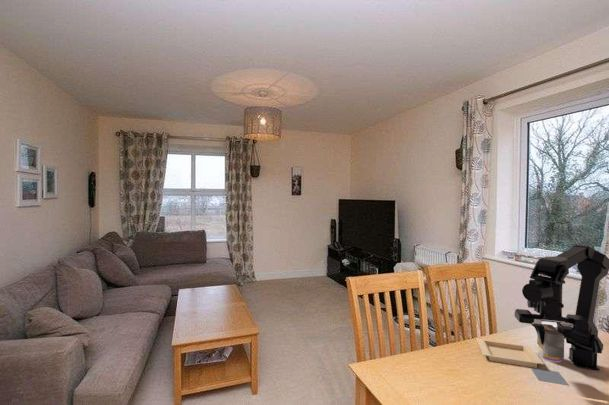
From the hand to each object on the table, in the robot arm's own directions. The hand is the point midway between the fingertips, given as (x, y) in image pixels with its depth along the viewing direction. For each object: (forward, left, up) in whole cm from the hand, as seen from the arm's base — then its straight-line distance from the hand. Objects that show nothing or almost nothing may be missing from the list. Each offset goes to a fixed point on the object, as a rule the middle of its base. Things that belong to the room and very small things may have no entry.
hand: (549, 344), depth 102 cm
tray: (+9, -11, -11) cm, 18 cm away
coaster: (0, 0, -11) cm, 11 cm away
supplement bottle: (-5, -14, -11) cm, 19 cm away
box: (0, 0, -2) cm, 2 cm away
